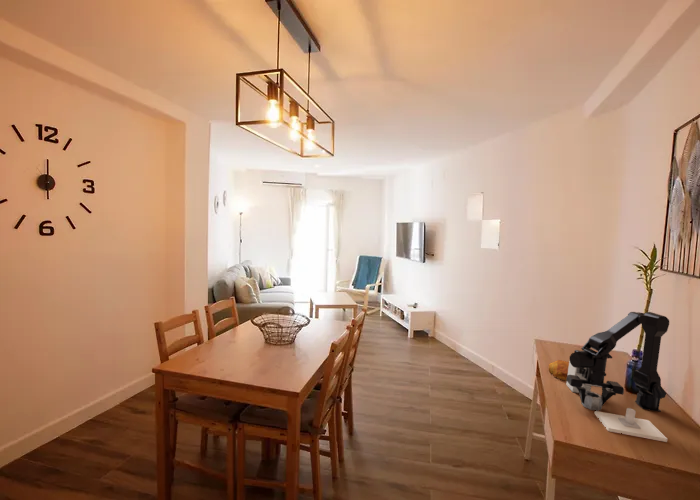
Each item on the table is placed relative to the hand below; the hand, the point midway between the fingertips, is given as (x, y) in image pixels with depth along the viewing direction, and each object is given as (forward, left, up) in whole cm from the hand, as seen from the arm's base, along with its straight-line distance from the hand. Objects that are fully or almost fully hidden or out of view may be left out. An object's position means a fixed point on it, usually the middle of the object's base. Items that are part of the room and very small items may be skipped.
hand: (591, 404), depth 146 cm
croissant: (+1, -29, -2) cm, 29 cm away
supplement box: (0, -15, -1) cm, 15 cm away
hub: (0, 0, -1) cm, 1 cm away
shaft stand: (-8, +12, -1) cm, 14 cm away
